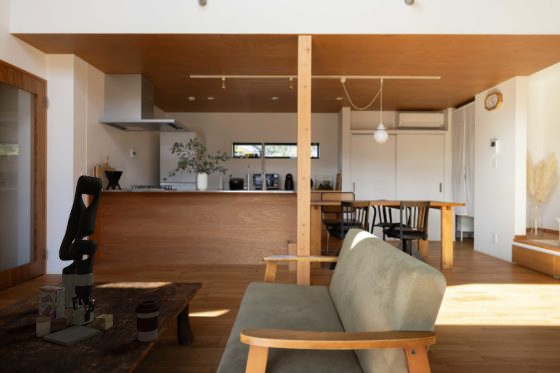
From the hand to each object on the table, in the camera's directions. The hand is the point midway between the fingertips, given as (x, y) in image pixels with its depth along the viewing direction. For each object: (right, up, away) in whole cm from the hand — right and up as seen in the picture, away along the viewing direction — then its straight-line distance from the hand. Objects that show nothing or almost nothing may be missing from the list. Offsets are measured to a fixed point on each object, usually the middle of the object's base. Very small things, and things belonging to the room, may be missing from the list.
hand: (83, 320), depth 168 cm
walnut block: (-8, -2, -6) cm, 10 cm away
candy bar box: (-15, -2, 0) cm, 15 cm away
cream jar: (-10, -1, -13) cm, 16 cm away
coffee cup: (+36, -2, -17) cm, 40 cm away
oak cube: (+12, -2, -4) cm, 12 cm away
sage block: (0, -1, 0) cm, 1 cm away
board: (+3, -1, -15) cm, 15 cm away
